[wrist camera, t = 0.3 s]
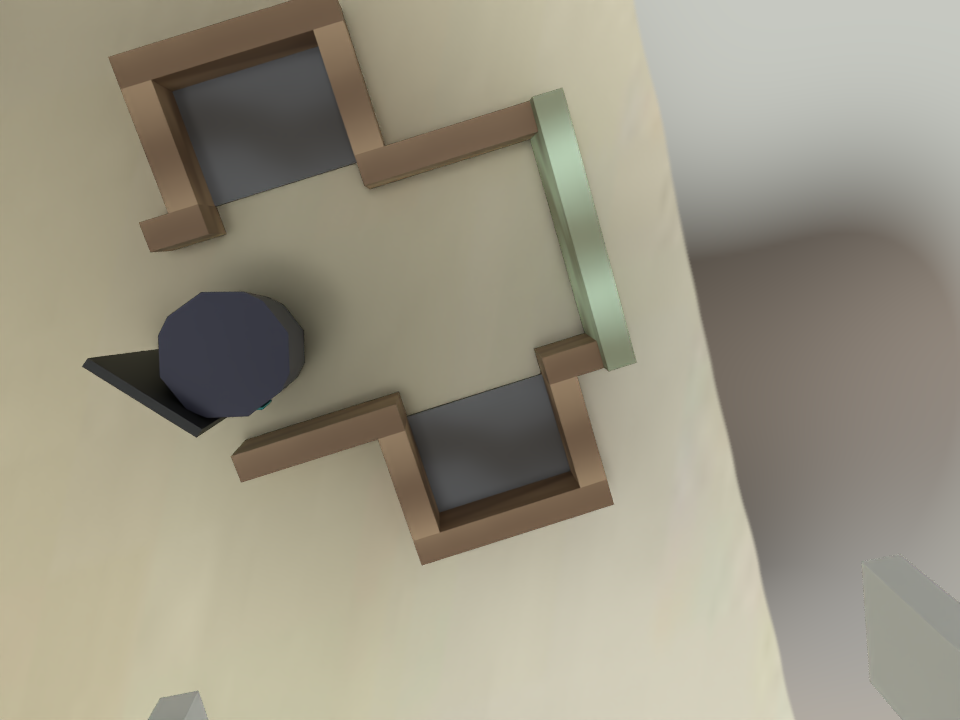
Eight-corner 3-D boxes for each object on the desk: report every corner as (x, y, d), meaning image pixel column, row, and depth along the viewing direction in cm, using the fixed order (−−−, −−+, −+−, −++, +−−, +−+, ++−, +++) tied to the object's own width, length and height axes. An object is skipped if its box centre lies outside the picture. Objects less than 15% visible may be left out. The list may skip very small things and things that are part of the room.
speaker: (220, 436, 40) (160, 482, 29) (155, 352, 39) (70, 369, 29) (333, 358, 40) (312, 376, 30) (271, 273, 39) (228, 261, 29)
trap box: (106, 80, 36) (66, 61, 32) (508, -45, 37) (517, -78, 33) (300, 580, 42) (286, 617, 38) (649, 469, 42) (672, 494, 38)
